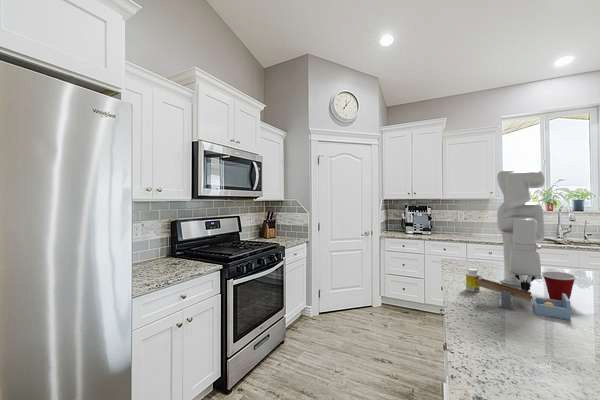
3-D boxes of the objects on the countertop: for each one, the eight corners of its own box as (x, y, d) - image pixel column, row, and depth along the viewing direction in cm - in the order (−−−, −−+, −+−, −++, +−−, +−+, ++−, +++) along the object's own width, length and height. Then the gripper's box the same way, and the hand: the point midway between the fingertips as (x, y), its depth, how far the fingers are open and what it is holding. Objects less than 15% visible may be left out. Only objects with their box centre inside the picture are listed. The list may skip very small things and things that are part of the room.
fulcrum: (499, 300, 120) (498, 284, 120) (513, 302, 117) (513, 286, 117) (498, 308, 112) (498, 290, 112) (514, 310, 109) (513, 292, 109)
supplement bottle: (476, 293, 130) (476, 271, 130) (464, 289, 135) (463, 269, 135) (481, 290, 133) (481, 269, 133) (469, 287, 138) (469, 267, 138)
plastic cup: (536, 299, 120) (535, 272, 120) (551, 296, 124) (550, 269, 124) (567, 308, 110) (566, 278, 110) (582, 304, 114) (582, 275, 114)
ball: (540, 306, 109) (545, 299, 108) (552, 312, 107) (556, 304, 106) (541, 309, 106) (546, 302, 106) (553, 315, 104) (557, 307, 104)
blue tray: (532, 306, 113) (531, 289, 113) (565, 311, 107) (565, 293, 107) (534, 314, 105) (534, 296, 105) (570, 320, 99) (570, 301, 99)
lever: (479, 279, 128) (480, 272, 127) (528, 293, 117) (530, 286, 117) (477, 285, 118) (478, 279, 117) (531, 302, 107) (532, 294, 107)
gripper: (547, 248, 114) (548, 292, 114) (502, 245, 123) (503, 286, 123) (549, 250, 108) (550, 297, 108) (502, 247, 117) (503, 290, 117)
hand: (525, 291), depth 115 cm, fingers closed
